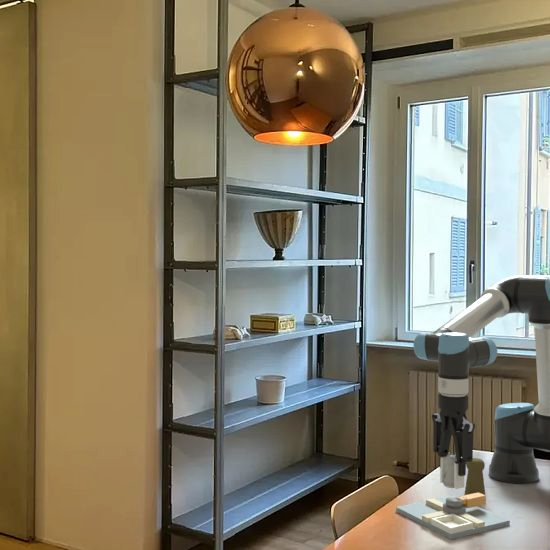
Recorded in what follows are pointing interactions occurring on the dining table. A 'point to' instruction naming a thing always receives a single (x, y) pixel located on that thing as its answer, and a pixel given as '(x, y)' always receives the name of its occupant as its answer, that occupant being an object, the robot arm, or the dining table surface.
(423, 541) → the dining table surface
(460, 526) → the socket
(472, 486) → the brown pawn piece
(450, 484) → the rook chess piece
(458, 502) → the hinged leg
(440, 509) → the base plate with blocks
